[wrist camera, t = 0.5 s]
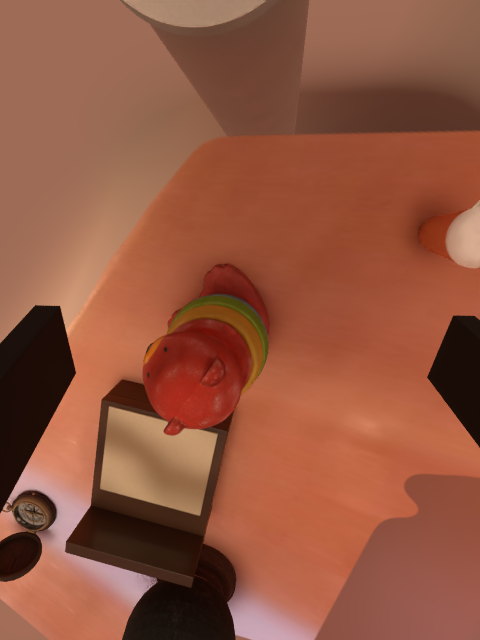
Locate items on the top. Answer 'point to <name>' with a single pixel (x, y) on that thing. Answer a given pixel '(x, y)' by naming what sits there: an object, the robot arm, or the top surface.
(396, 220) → the top surface
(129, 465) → the dollhouse bed
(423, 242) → the milkshake
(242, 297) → the stacking bear
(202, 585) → the dark ball on base
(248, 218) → the top surface
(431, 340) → the top surface
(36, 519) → the compass
